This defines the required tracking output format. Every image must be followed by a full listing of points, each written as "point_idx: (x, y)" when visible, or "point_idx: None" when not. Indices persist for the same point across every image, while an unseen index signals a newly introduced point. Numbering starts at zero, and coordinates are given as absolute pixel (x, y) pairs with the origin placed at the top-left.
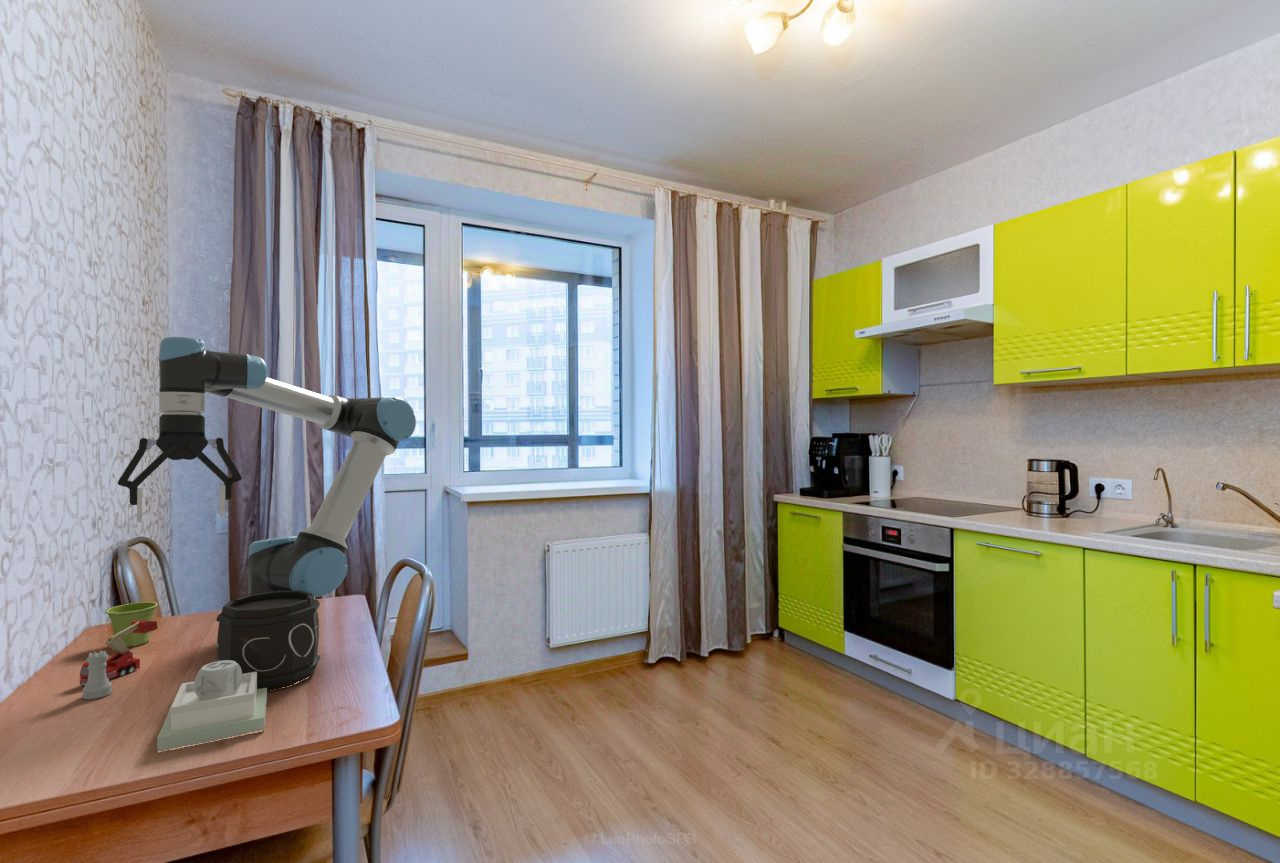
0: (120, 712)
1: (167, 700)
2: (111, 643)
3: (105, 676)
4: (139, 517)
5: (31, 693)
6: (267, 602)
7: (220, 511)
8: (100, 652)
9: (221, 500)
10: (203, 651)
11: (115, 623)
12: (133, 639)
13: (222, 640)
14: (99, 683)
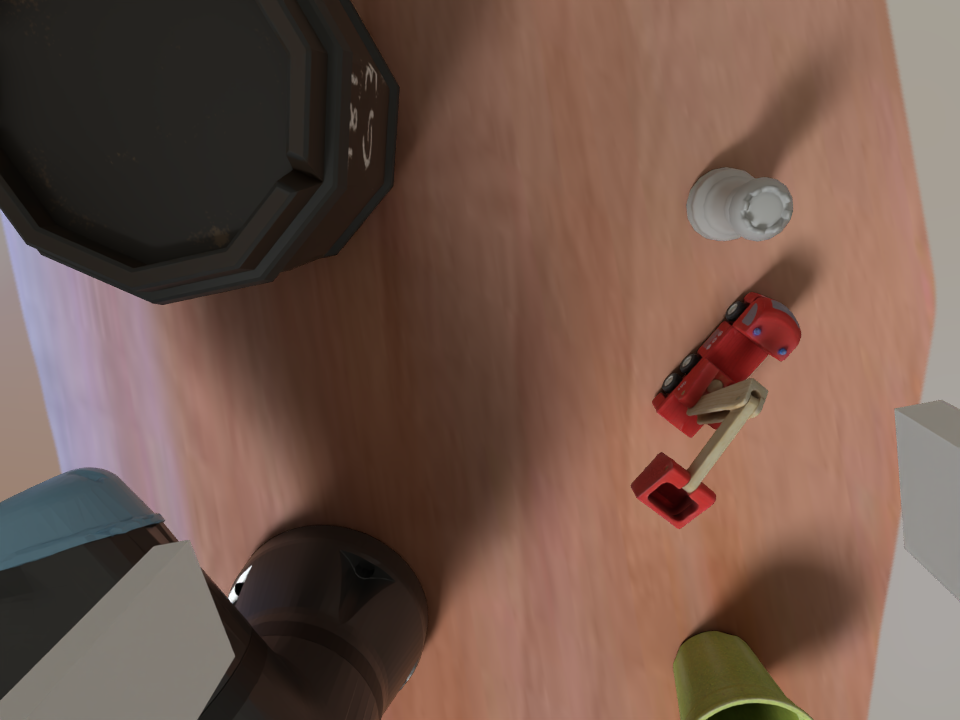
0: (631, 9)
1: (524, 57)
2: (747, 382)
3: (716, 201)
4: (956, 423)
5: (893, 314)
6: (170, 189)
7: (182, 617)
8: (759, 229)
9: (68, 669)
10: (506, 495)
11: (779, 691)
12: (711, 644)
13: (342, 23)
14: (724, 180)
